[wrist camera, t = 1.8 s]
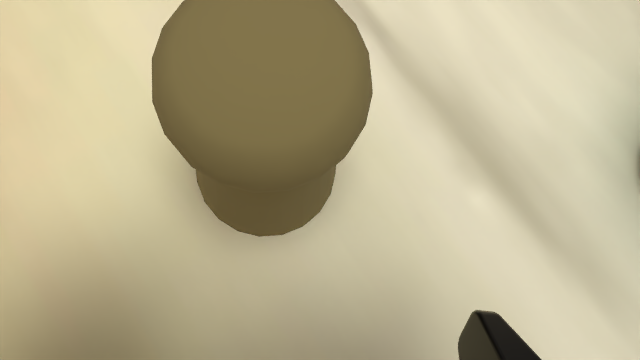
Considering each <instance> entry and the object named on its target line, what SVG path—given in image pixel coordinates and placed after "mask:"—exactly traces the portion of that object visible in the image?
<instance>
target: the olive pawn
mask: <svg viewBox="0 0 640 360" xmlns="http://www.w3.org/2000/svg"><path fill="white" fill-rule="evenodd" d="M372 94H373V93H372V79H371V70H370V60H369V52H368V50H367V48H366V46H365V44H364V41H363V39H362V37H361V35H360V32H359V30H358V28H357V26H356V24H355V23H354V22H353V20H352V19H351V18H350V17H349V16H348V15H347V14H346V13H345V11H344V10H343V9H342V8H341V7H340V6H339V5H338V4H337V2H336V1H335V0H185V1H183V2H182V3H181V5H180V6H179V7H178V8H177V10H176V11H175V12H174V14H173V15H172V16H171V17H170V19H169V20H168V21H167V23H166V24H165V25H164V26H163V28H162V31H161V34H160V37H159V39H158V42H157V45H156V48H155V51H154V54H153V57H152V102H153V105H154V107H155V110H156V113H157V115H158V118H159V121H160V123H161V126H162V129H163V131H164V134H165V135H166V136H167V138H168V139H169V140H170V141H171V142H172V144H173V145H174V146H175V147H176V148H177V150H178V151H179V152H180V153H181V155H182V156H183V157H184V158H185V159H186V161H187V162H188V163H189V164H190V165H191V166H192V167H193V168H195V169H196V174H197V182H198V185H199V187H200V190H201V193H202V195H203V198H204V201H205V203H206V204H207V205H208V206H209V207H210V209H211V210H212V211H213V212H214V214H215V215H216V216H217V217H218V218H219V219H220V220H221V221H223V222H224V223H226V224H228V225H229V226H231V227H232V228H234V229H236V230H237V231H240V232H244V233H248V234H252V235H256V236H271V235H283V234H285V233H288V232H290V231H293V230H295V229H297V228H300V227H302V226H304V225H305V224H306V223H307V222H308V221H310V220H311V219H312V218H313V217H314V216H316V215H317V214H318V213H319V212H320V210H321V209H322V207H323V205H324V204H325V202H326V201H327V199H328V197H329V196H330V194H331V190H332V186H333V181H334V177H335V170H336V164H338V163H339V162H340V161H341V160H342V159H344V158H345V156H346V155H347V154H348V152H349V151H350V149H351V147H352V146H353V144H354V142H355V141H356V139H357V138H358V136H359V134H360V133H361V131H362V130H363V128H364V126H365V124H366V120H367V116H368V111H369V107H370V102H371V98H372Z"/></svg>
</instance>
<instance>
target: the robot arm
mask: <svg viewBox="0 0 640 360" xmlns="http://www.w3.org/2000/svg"><path fill="white" fill-rule="evenodd" d="M458 353H459V360H541V359H540V358H539V356H538V355H537V354H536V353H535V352H534V351H533V350H532V349H531V348H530V347H529V346H528V345H527V344H526V343H525V342H524V340H523V339H522V338H521V337H520V336H519V335H518V334H517V333H516V332H515V331H514V330H513V329H512V328H511V327H510V326H509V325H508V323H507V322H506V321H505V320H504V319H503V318H502V317H501V316H500V315H499V314H497V313H495V312H492V311H482V310H475V311H474V312H472V314H471V315H470V317H469V319H468V321H467V323H466V325H465V327H464V329H463V331H462V333H461V335H460V337H459V341H458Z"/></svg>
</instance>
